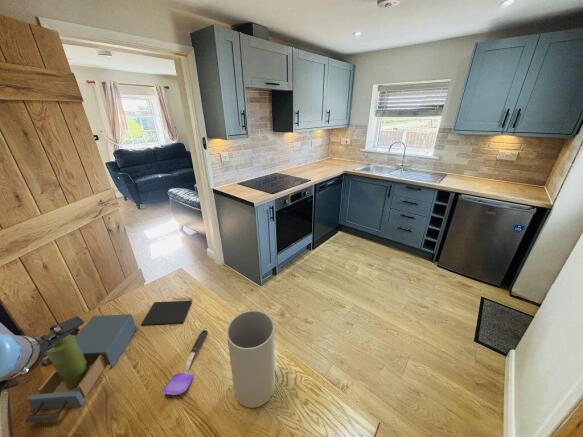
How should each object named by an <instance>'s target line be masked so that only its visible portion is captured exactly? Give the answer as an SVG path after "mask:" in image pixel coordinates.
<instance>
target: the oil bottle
mask: <svg viewBox="0 0 583 437" xmlns="http://www.w3.org/2000/svg"><path fill="white" fill-rule="evenodd" d="M49 333H50V332H49V331H48V332H47V333H46V334H45V335H48V334H49ZM46 348H47V347H46ZM46 354H47V356H48V358H49V359H50V361H51V362H50V364H52V366H53V368H54V370H55V369H56V371H57V373H58V374H59V376H60V378H61V380H62V381H63V383H64V385H65V386H66V388H68V389H75V388H77V387H78V385H79V384H80V382H81V381H82V380H83V378H84V377H85V375H86V374H87V372H88V371H89V370H90V367H89V365H88V363H87V361H86V359H85V357H84V355H83V353H82V351H81V349H80V347H79V345H78V343H77V341H76V339H75V337H74V335H71V334H69V335H68V336H66V337H65V338H63V339H61V340H60V341H58V342H57V343H55V345H54V346H53V347H52V348H51V349H50V350H48V351H46Z"/></svg>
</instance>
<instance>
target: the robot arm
mask: <svg viewBox="0 0 583 437" xmlns="http://www.w3.org/2000/svg"><path fill="white" fill-rule="evenodd" d="M84 324H85V321H84V320H83V319H82V318H81V317H79V315H76V316H73V317H72V318H69V319H67V320H65V321H62V322H60V323H58V324H54V325H52V326H50V328H49V330H48V332H50V333H49V334H48V335H46V334H43V335H41V336H39V337H36V336H29V335H17V334H14V333H13V332H12V331H10V330H9V329H8V327H6V326H5V325H4V324H3V323H2V322H0V394H1V393H2V392H3V391H5V390H8V389H11V388H15V387H17V386H18V385H20V384H21V382H20V381H19V380H17V378H20V377H23V376H26V375H27V374H29V373H30V372H32V371H33V370H35V369H36V368H37V367H38V366H39V365H40V364H41V363H42V360H43V358H44V356H45V352H46V351H48V350H50V349H51V348H52V347H53V346H54V345H55V343H57V342H58V341H60V340H61V339H63V338H65V337H66V336H68V335H69V334H71V335H74V336H76V335H78V334H79V332H80V331H81V329H80V328H79V327H81V326H83V325H84ZM46 347H47V348H46Z"/></svg>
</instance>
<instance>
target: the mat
mask: <svg viewBox="0 0 583 437" xmlns="http://www.w3.org/2000/svg"><path fill="white" fill-rule="evenodd" d="M191 303H193V300H174V301H173V300H171V301H154V302H153V304H152V305H151V307H150V309H149V310H148V312H147V313H146V315H145V317H144V318H143V320H142V322H141V323H140V326H141V327H148V326H166V325H167V326H168V325H183V324H184V323H185V321H186V318H187V316H188V313H189V310H190V308H191V306H192V304H191Z"/></svg>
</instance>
